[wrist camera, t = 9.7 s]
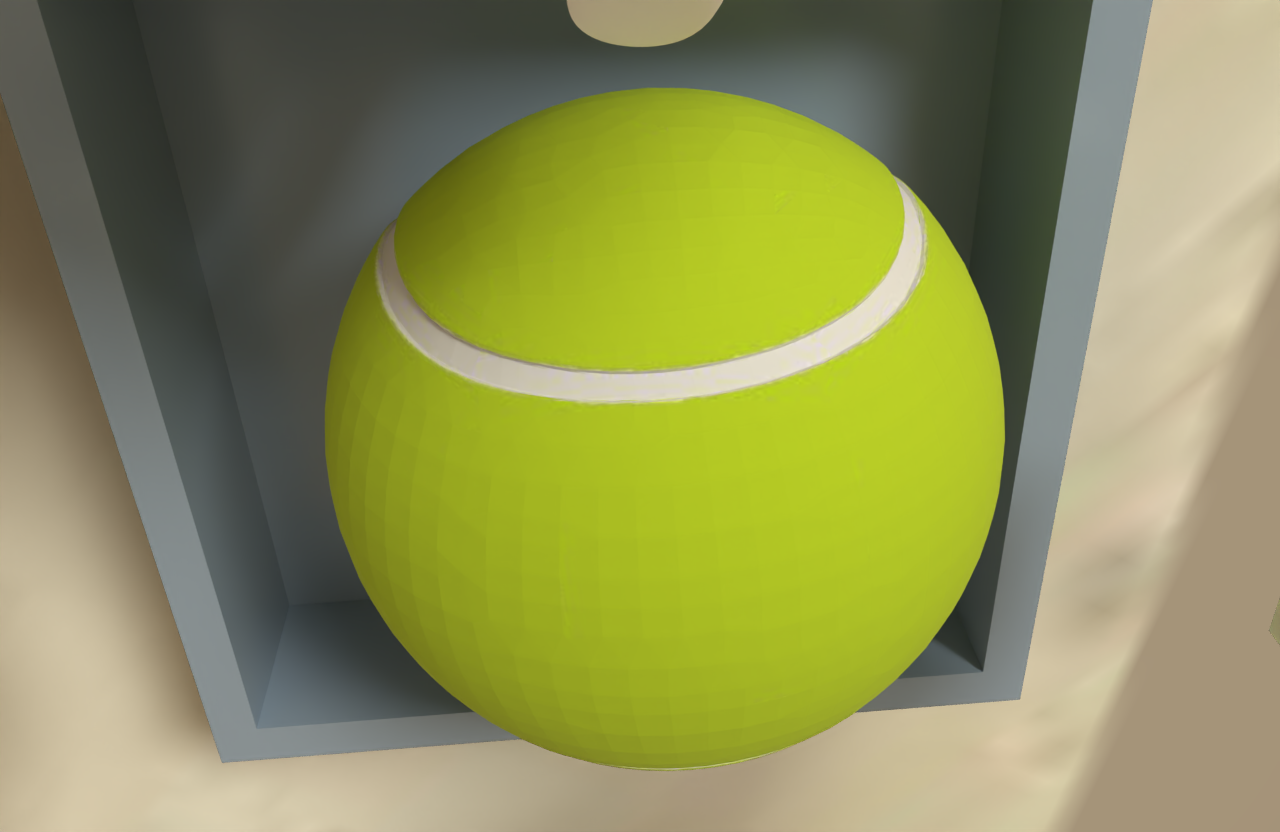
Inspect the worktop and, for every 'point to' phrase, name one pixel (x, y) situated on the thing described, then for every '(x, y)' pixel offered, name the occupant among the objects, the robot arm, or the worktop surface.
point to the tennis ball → (664, 428)
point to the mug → (641, 20)
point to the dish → (373, 197)
